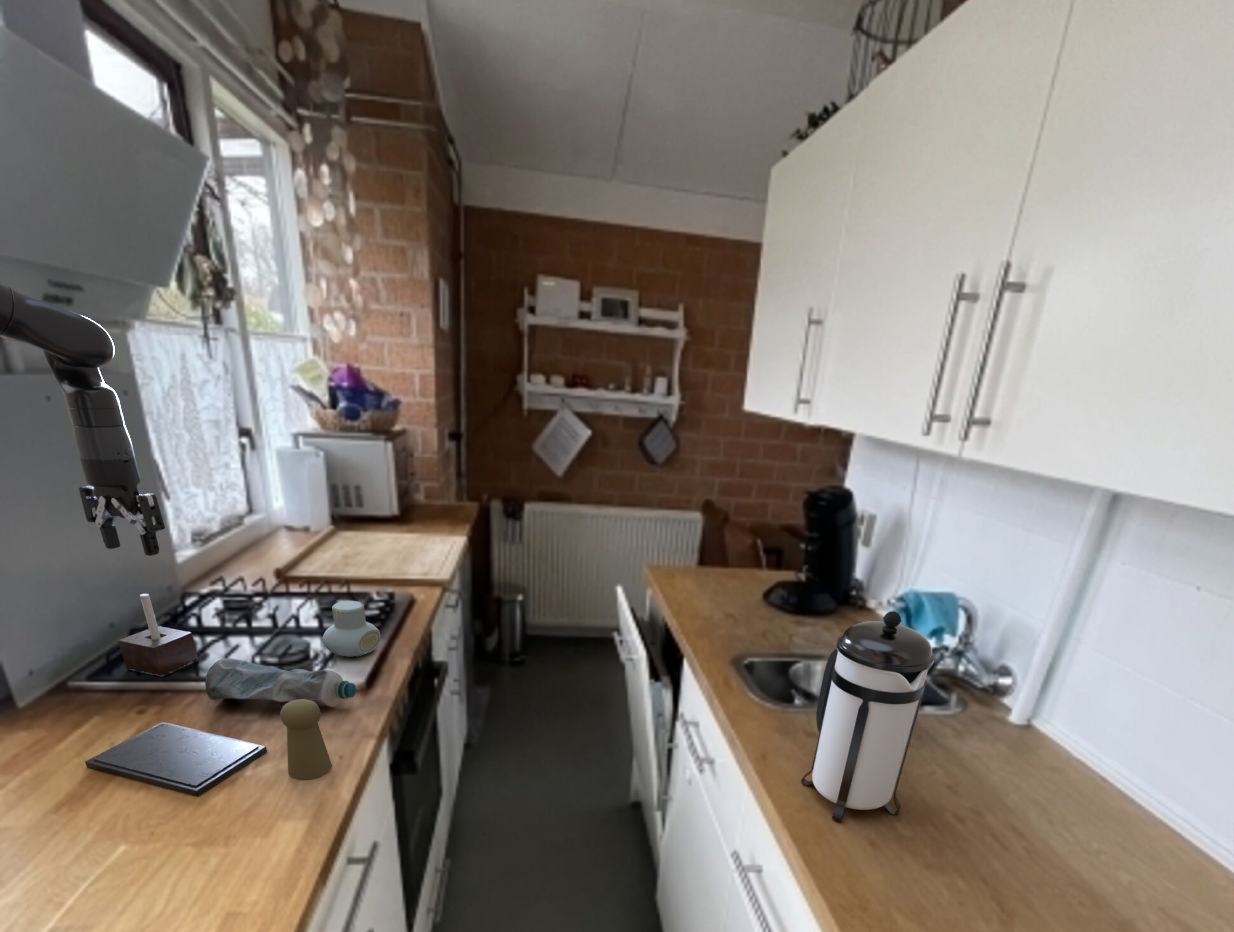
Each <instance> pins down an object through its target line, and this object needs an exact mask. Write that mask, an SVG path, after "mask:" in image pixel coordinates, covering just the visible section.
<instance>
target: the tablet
mask: <svg viewBox="0 0 1234 932" xmlns="http://www.w3.org/2000/svg"><path fill="white" fill-rule="evenodd" d="M267 752H268V747H267V746H266V745H263V744H262V745H261V744H259V743H253V742H249V741H245V740H241V739H236V738H232V737H228V736H224V735H220V734H216V733H211V732H207V731H203V730H199V729H194V728H192V727H191V728H190V727H186V726H181V725H178V724H175V723H170V722H165V721H161V722H160V723H157V724H155V725H153V726H152V727H150V728H147V729H146V730H144V731H141V732H140V733H138V734H136V735H134V736H132V737H130V738H128V739H126V740H124V741H122V742H120V743H118V744H117V745H115V746H112V747H111V748H109V749H106V750H105V751H103V752H100V753H99V754H97V755H95V756H93V757H91V758H89V759H87V760H84V763H85V766H86V768H88V769H92V770H96V771H100V772H104V773H107V774H112V775H114V776H119V777H123V778H127V779H130V780H134V781H138V782H142V783H144V784H145V783H146V784H149V785H151V786H152V785H153V786H157V787H161V788H164V789H167V790H171V791H175V792H179V793H183V794H185V795H191V796H194V797H201V796H202V795H203V794H205V793H206V792H207V791H209V790H211V789H212V788H214V787H215V786H217V785H219V784H220V783H222V782H223V781H224V780H226V779H228V778H230V777H231V776H232V775H234V774H235V773H237V772H238V771H240V770H241V769H243V768H245V767H246V766H248V765H249V764H250V763H252V762H254V761H255V760H257V759H258V758H260V757H262V756H263V755H264V754H266V753H267Z"/></svg>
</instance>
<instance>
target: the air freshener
mask: <svg viewBox="0 0 1234 932" xmlns="http://www.w3.org/2000/svg"><path fill="white" fill-rule="evenodd" d="M331 608H332V609H331V610H332V618H333V624H331V625H330V626H329V627H328V628H327V629H326V630H325V632H324V633H323V636H322V643H323V646H324V647H325V649H327V650H328V651H329V652H331V653H333V654H335V655H337V656H339V657H340V656H341V657H345V656H346V658H347V657H348V658H354V657H353V656H356V657H361V656H360V655H364V654H366V655H368V654H369V653H371V652H372V651H374V650H375V649H376V648H377V647H378V645H380V641H381V639H382V637H381V632H380V630H379V629H378V628H377V627H376V626H375V625H374V624H372V623H370V622H369V621H366V613H365V605H364V604H363V603H362V602H360V601H358V600H357V601H356V600H342V601H339V602H336V603H335V604H333V605H332V607H331ZM367 653H368V654H367ZM364 656H365V655H364Z"/></svg>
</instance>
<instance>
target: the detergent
mask: <svg viewBox="0 0 1234 932" xmlns="http://www.w3.org/2000/svg"><path fill="white" fill-rule="evenodd" d="M204 685H205V691H206V694H207V697H208V698H209V699H210V700H211V701H219V700H225V699H228V700H229V699H232V700H234V699H235V700H269V701H274V702H279V703H285V702H286V703H288V702H290V701H293V700H298V699H307V700H311V701H315V700H317V701H319V702H321V703H323V704H324V705H325V706H326V707H329V708H335V707H336V706H337V705H338V704H339V702H340V700H341V699H343V700H346V699H349V698H353V697H355V696H356V693H357V688H356V684H355V683H354V682H350V681H349V680H344V679H343V677H342V676H341V675H340V673H338V672H336V671H334V670H330V669H320V670H315V671H314V670H313V671H311V670H306V669H300V668H293V669H291V670H285V669H281V668H276V667H271V666H267V665H262V664H257V663H255V662H249V661H247V660H242V659H238V658H233V657H232V658H230V657H229V658H227V657H225V658H221V659H219V660H216V661H215V662H214V663H213V664H212V665H211V666H210V668H209V669H208V670H207V673H206V674H205V681H204Z"/></svg>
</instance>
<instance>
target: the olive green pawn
mask: <svg viewBox="0 0 1234 932" xmlns="http://www.w3.org/2000/svg"><path fill="white" fill-rule="evenodd" d="M279 715H280V716H279V717H280V720H281V722H282V724H283V725H284V726H285V727H286V748H287V749H286V750H287V773H288V776H289V777H291V778H293V779H295V780H302V781H304V780H305V781H306V780H307V781H308V780H313V779H317V778H320V777H323V776H324V775H326V774H327V773H329V772H330V771H331V770H332V767H333V764H332V761H331V758H330V755H329V752H328V749H327V745H326V743H325V740H324V737H323V734H322V731H321V728H320V725H319V722H320V719H321V710H320V707H319V705H318V704H317V703H316V702H315V701H314V700H307V699H298V700H293V701H290V702H286V703H285V704H284V705H282V707H281V709H280V714H279Z"/></svg>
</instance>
